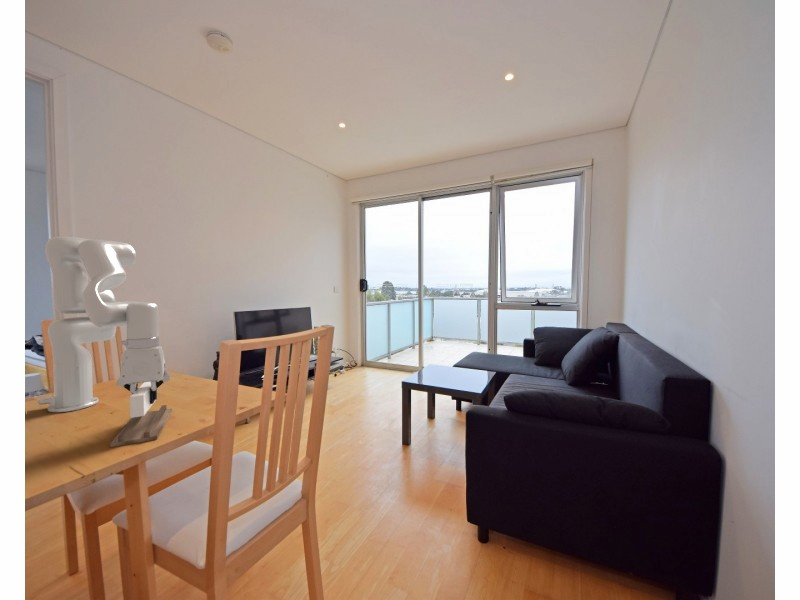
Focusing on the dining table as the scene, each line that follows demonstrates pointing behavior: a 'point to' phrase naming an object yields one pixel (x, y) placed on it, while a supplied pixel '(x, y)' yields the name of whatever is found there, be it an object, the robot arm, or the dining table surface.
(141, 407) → the white strip
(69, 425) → the dining table surface
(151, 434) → the walnut rack
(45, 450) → the dining table surface
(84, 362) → the robot arm
